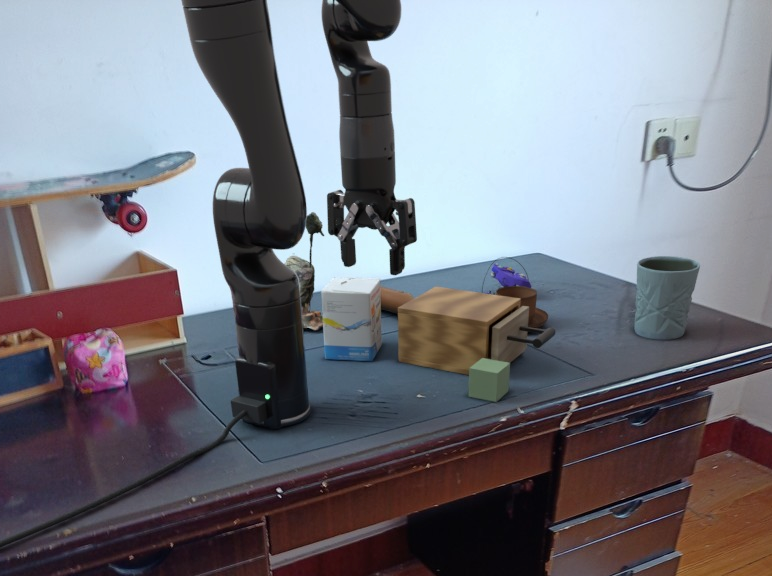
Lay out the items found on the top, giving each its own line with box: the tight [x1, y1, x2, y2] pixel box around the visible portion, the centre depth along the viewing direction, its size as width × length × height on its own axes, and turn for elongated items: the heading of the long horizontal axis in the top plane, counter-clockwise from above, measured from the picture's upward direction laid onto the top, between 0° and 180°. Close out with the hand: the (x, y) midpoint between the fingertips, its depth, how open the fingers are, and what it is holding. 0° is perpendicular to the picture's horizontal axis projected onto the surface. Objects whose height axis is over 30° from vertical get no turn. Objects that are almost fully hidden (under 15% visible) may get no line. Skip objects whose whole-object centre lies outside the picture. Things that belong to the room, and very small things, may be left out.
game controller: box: [481, 256, 532, 294], centre depth 165 cm, size 10×8×10 cm
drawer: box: [488, 306, 557, 364], centre depth 134 cm, size 20×12×7 cm, turn 59°
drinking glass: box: [634, 255, 701, 341], centre depth 143 cm, size 10×10×12 cm
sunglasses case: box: [380, 285, 415, 315], centre depth 159 cm, size 18×7×7 cm
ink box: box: [320, 276, 383, 362], centre depth 139 cm, size 9×8×12 cm
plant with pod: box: [284, 211, 325, 331], centre depth 149 cm, size 8×11×20 cm
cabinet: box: [397, 286, 521, 376], centre depth 136 cm, size 16×13×9 cm
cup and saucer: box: [495, 286, 549, 329], centre depth 150 cm, size 12×12×6 cm
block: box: [467, 358, 511, 403], centre depth 124 cm, size 5×5×5 cm
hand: (373, 269), depth 122 cm, fingers open, 8 cm apart
